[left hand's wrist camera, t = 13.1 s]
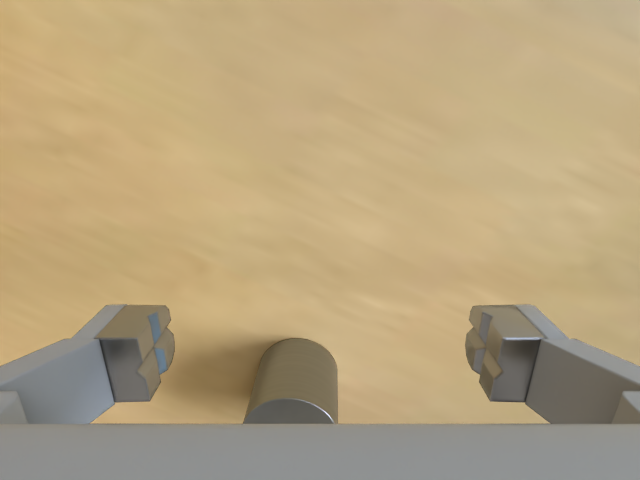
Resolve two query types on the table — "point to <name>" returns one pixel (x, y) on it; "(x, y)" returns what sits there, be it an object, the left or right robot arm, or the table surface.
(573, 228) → the table surface
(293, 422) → the can
